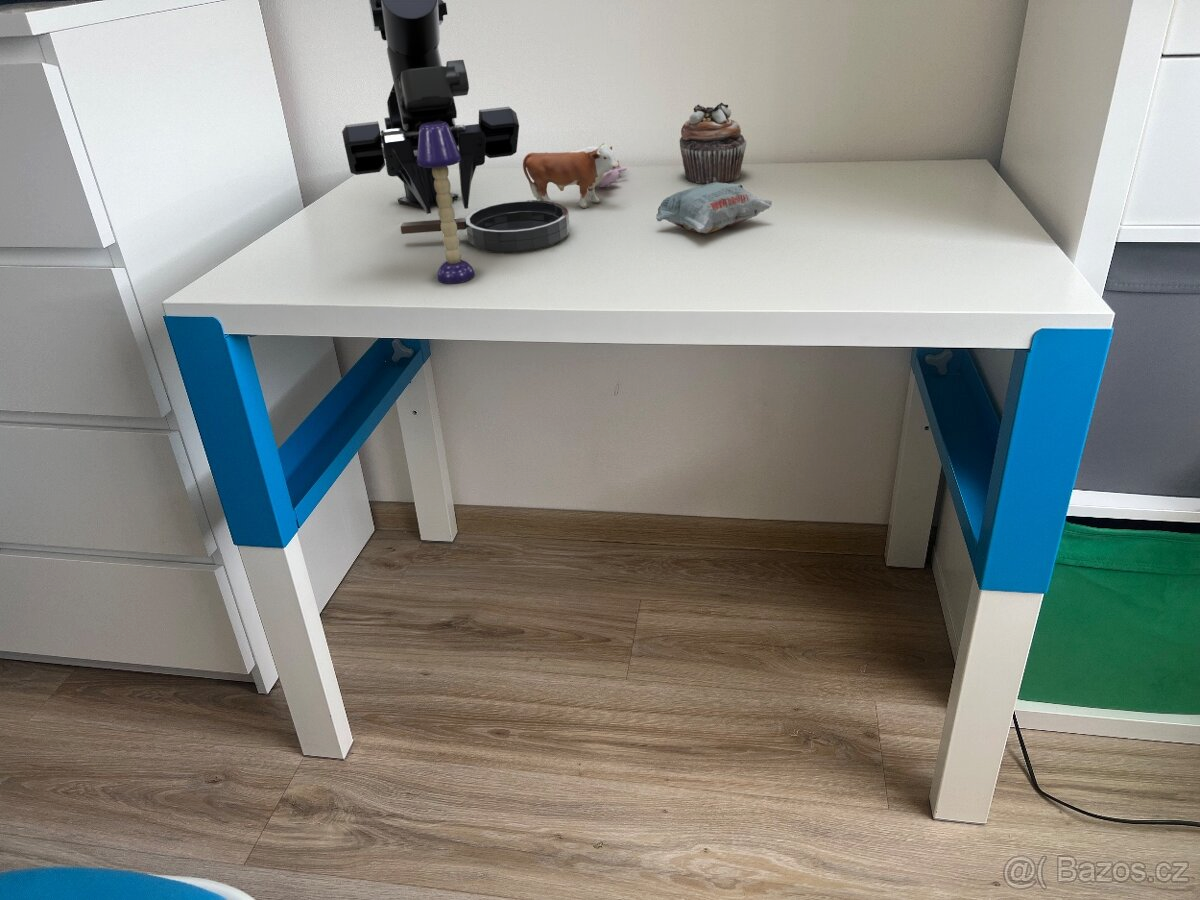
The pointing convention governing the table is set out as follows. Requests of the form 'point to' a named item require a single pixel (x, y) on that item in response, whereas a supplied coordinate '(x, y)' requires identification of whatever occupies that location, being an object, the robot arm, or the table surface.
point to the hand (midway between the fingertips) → (447, 209)
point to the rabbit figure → (610, 175)
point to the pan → (517, 226)
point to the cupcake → (712, 146)
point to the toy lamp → (444, 194)
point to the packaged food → (711, 207)
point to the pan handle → (428, 226)
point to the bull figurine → (569, 170)
